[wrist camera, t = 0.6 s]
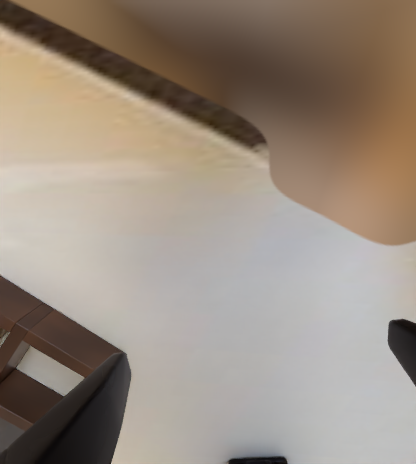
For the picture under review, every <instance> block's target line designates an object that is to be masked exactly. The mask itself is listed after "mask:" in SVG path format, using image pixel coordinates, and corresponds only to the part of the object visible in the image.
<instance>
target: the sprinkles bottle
mask: <svg viewBox="0 0 416 464" xmlns="http://www.w3.org/2000/svg"><path fill="white" fill-rule="evenodd" d="M5 333H6V330H4V329H3V328H1V327H0V338H1V337H2V336H3V335H4V334H5Z"/></svg>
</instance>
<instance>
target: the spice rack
mask: <svg viewBox="0 0 416 464" xmlns="http://www.w3.org/2000/svg"><path fill="white" fill-rule="evenodd" d="M0 327H1V328H3V329H4V330H6V331H8V332H10V333H9V335H8V337H7V338H6V340H5V341H4V343H3V345H2V346H1V348H0V418H2V419H3V420H5V421H7V422H9V423H11V424H13V425H14V426H16V427H18V428H20V429H22V430H24V431H26V430H27V429H29V428H30V427H31V426H32V425H33V424H34V423H35V422H37V421H38V420H39V419H40V418H41V417H42V416H43V415H44V414H46V413H47V412H48V411H49V410H50V409H51V408H52V407H53V406H55V405H56V404H57V403H58V402H59V401H60V400H61V399H62V398H64V397H63V396H61V395H60V394H58V393H56V392H54V391H53V390H51V389H49V388H48V387H46V386H44V385H42V384H41V383H39V382H37V381H35V380H34V379H32V378H30V377H28V376H27V375H25V374H23V373H22V372H20V371H18V370H16V369H15V368H16V366H17V365H18V363H19V362H20V360H21V359H22V357H23V356H24V354H25V353H26V351H27V350H28V348H29V347H30V345H31V346H32V347H34V348H36V349H38V350H39V351H41V352H43V353H44V354H46V355H48V356H49V357H51V358H53V359H54V360H56V361H58V362H59V363H61V364H63V365H64V366H66V367H68V368H70V369H71V370H73V371H75V372H76V373H78V374H80V375H81V376H83V377H85V378H86V377H87V376H88V375H89V374H91V373H92V372H93V371H94V370H95V369H96V368H97V367H98V366H100V365H101V364H102V363H103V362H104V361H105V360H106V359H107V358H109V357H110V356H111V355H112V354H114V353H122V352H123V351H121V350H119V349H118V348H116V347H114V346H113V345H111V344H110V343H108V342H106V341H105V340H103V339H102V338H100V337H98V336H97V335H95V334H94V333H92V332H90V331H89V330H87V329H85V328H84V327H82V326H81V325H79V324H77V323H76V322H74V321H73V320H71V319H69V318H68V317H66V316H65V315H63V314H61V313H60V312H58V311H56V310H55V309H53V308H51V307H50V306H48V305H47V304H45V303H43V302H42V301H40V300H38V299H37V298H35V297H34V296H32V295H30V294H29V293H27V292H25V291H24V290H22V289H21V288H19V287H17V286H16V285H14V284H13V283H11V282H9V281H8V280H6V279H5V278H3V277H1V276H0ZM125 354H126V353H125ZM126 355H127V354H126Z"/></svg>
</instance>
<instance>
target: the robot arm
mask: <svg viewBox="0 0 416 464" xmlns="http://www.w3.org/2000/svg"><path fill="white" fill-rule="evenodd" d="M388 345H389V347H390V349H391V351H392V352H393V354H394V355H395V356H396V358H397V359H398V361H399V362H400V364H401V365H402V367H403V368H404V370H405V371H406V373H407V374H408V376H409V377H410V379H411V380H412V382H413V383H414V385H415V386H416V323H413V322H411V321H408V320H405V319H397V320H391V321H390V322H389V328H388ZM130 381H131V369H130V366H129V362H128V359H127V355H126V354H125V353H124V352H122V353H114V354H112V355H111V356H110V357H109V358H107V359H106V360H105V361H104V362H103V363H102V364H101V365H100V366H98V367H97V368H96V369H95V370H94V371H93V372H92V373H91V374H89V375H88V376H87V377H86V378H85V379H84V380H83V381H82V382H80V383H79V384H78V385H77V386H76V387H75V388H74V389H73V390H71V391H70V392H69V393H68V394H67V395H66V396H65V397H64V398H62V399H61V400H60V401H59V402H58V403H57V404H56V405H55V406H53V407H52V408H51V409H50V410H49V411H48V412H47V413H46V414H44V415H43V416H42V417H41V418H40V419H39V420H38V421H37V422H35V423H34V424H33V425H32V426H31V427H30V428H29V429H27V430H26V431H25V432H24V433H23V434H22V435H21V436H20V437H18V438H17V439H16V440H15V441H14V442H13V443H12V444H11V445H10V446H9V447H8V449H5V450H4V451H3V452H1V453H0V464H111V462H112V458H113V455H114V451H115V448H116V445H117V441H118V438H119V434H120V430H121V426H122V422H123V417H124V412H125V407H126V402H127V397H128V391H129V386H130ZM228 464H288V463H287V460H286V458H284V457H278V458H254V459H232V460H230V461H229V463H228Z"/></svg>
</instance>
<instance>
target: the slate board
mask: <svg viewBox="0 0 416 464" xmlns="http://www.w3.org/2000/svg"><path fill="white" fill-rule="evenodd" d="M24 432H25V431H24V430H22V429H20V428H18V427H16V426H14V425H13V424H11V423H9V422H7V421H5V420H3V419H2V418H0V453H1V452H3V451H4V450H5V449H8V447H9V446H10V445H11V444H12V443H13V442H14V441H15V440H16V439H17V438H18V437H20V436H21V435H22V434H23V433H24Z"/></svg>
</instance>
